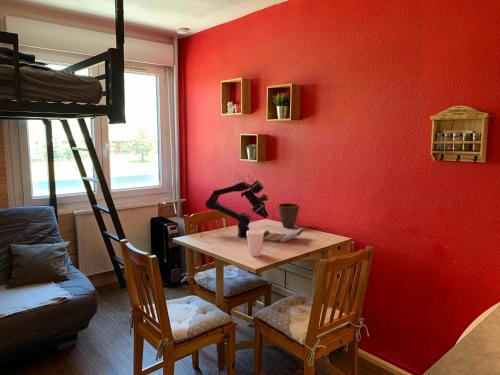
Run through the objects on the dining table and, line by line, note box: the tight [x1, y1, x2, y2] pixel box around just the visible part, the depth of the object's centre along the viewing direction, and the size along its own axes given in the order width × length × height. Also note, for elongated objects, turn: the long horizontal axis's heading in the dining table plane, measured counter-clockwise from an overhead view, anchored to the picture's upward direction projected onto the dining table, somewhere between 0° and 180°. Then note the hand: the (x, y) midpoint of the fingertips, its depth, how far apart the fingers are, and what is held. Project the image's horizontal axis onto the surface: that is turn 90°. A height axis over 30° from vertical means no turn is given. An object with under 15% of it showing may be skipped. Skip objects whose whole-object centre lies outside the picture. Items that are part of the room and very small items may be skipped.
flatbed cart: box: [263, 229, 287, 244], centre depth 240 cm, size 13×16×3 cm
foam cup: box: [246, 229, 265, 257], centre depth 207 cm, size 10×9×13 cm
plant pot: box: [278, 202, 300, 229], centre depth 271 cm, size 15×15×16 cm
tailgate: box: [280, 226, 305, 243], centre depth 236 cm, size 2×16×12 cm
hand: (267, 217), depth 241 cm, fingers open, 9 cm apart
